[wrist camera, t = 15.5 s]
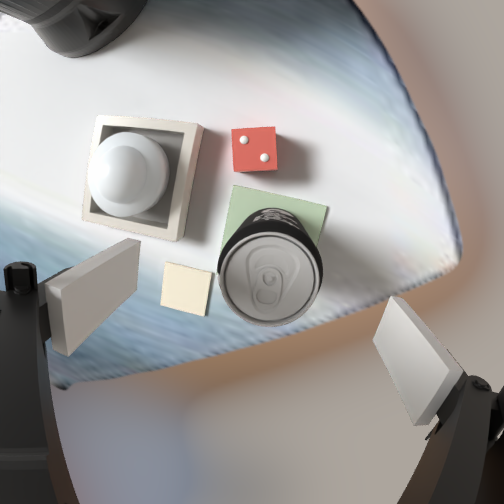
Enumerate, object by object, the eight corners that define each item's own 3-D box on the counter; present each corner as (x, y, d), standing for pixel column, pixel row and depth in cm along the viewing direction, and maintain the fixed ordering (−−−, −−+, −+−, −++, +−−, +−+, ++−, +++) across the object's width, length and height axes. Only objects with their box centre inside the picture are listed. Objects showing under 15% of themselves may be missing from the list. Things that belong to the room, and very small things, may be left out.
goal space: (233, 185, 28) (233, 185, 28) (326, 206, 28) (326, 206, 27) (216, 273, 30) (216, 274, 30) (303, 292, 30) (303, 293, 30)
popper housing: (109, 118, 27) (97, 115, 25) (204, 127, 27) (197, 123, 24) (94, 216, 30) (81, 220, 27) (183, 236, 29) (175, 242, 27)
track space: (166, 261, 30) (165, 262, 30) (211, 272, 30) (211, 273, 30) (161, 303, 32) (160, 304, 31) (204, 315, 31) (204, 316, 31)
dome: (110, 132, 26) (80, 126, 20) (178, 139, 25) (156, 132, 20) (98, 206, 27) (68, 212, 22) (163, 219, 27) (140, 229, 22)
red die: (236, 135, 27) (231, 129, 23) (275, 133, 26) (275, 126, 23) (239, 172, 28) (233, 171, 24) (277, 170, 27) (277, 169, 24)
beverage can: (312, 213, 28) (338, 236, 16) (298, 279, 29) (311, 340, 18) (243, 201, 28) (220, 215, 16) (232, 267, 29) (206, 322, 18)
